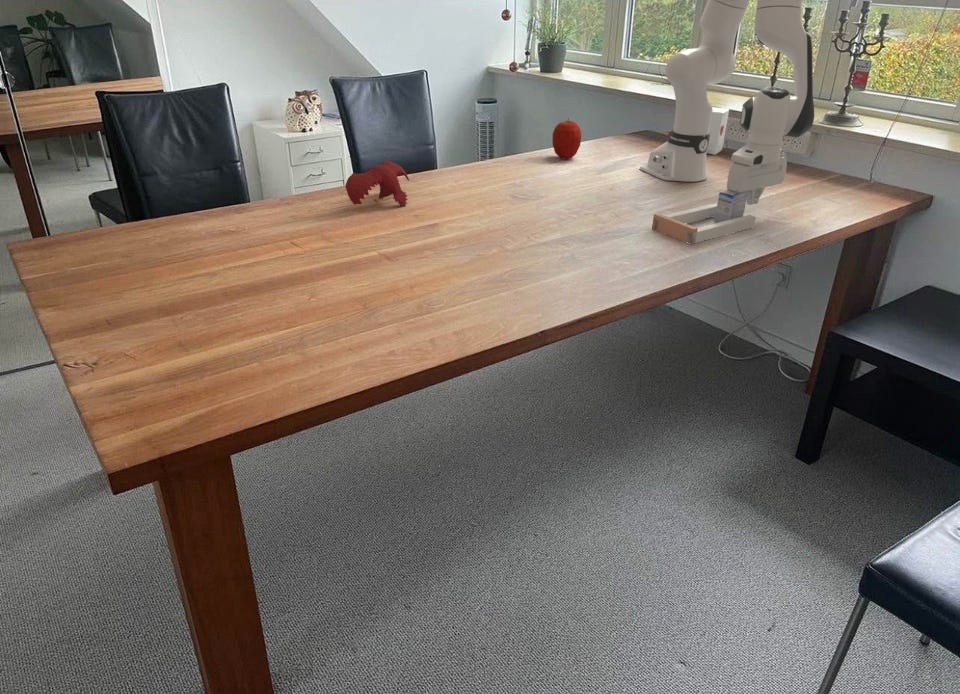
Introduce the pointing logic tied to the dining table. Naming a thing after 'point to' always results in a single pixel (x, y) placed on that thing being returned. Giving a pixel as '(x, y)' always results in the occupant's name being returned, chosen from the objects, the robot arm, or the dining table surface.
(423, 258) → the dining table surface
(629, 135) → the dining table surface
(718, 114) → the supplement box
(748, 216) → the shallow open rectangular tray
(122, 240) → the dining table surface
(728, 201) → the medicine box
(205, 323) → the dining table surface
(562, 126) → the apple
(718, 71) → the robot arm
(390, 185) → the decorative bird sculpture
